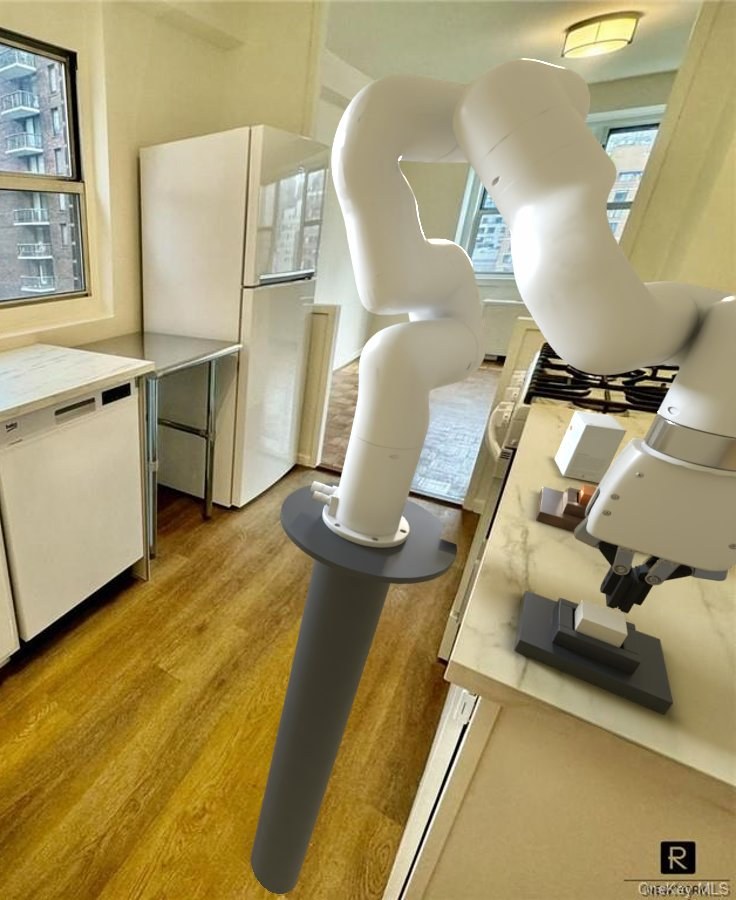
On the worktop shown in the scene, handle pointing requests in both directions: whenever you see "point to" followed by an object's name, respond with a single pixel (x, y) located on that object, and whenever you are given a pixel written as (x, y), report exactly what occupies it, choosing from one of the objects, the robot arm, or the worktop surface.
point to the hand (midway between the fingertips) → (616, 602)
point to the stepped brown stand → (560, 508)
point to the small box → (589, 446)
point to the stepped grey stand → (593, 652)
